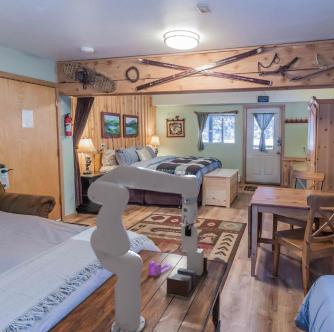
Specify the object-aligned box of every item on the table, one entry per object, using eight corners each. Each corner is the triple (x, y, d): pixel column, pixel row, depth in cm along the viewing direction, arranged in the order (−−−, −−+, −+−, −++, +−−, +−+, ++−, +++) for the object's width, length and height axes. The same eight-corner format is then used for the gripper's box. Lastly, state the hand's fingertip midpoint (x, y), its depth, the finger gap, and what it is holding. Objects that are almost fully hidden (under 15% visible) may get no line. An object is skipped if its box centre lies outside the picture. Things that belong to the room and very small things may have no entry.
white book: (196, 252, 136) (195, 227, 135) (181, 250, 138) (181, 225, 137) (197, 250, 138) (197, 226, 137) (183, 248, 140) (182, 224, 139)
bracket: (156, 278, 144) (156, 265, 143) (148, 275, 147) (148, 263, 146) (173, 267, 155) (173, 256, 154) (166, 265, 158) (166, 253, 157)
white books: (200, 275, 146) (200, 252, 144) (186, 273, 148) (186, 250, 146) (203, 271, 150) (203, 249, 149) (190, 269, 152) (190, 247, 151)
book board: (187, 299, 127) (188, 281, 126) (166, 295, 130) (166, 277, 128) (206, 272, 152) (207, 256, 151) (188, 269, 155) (188, 253, 153)
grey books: (187, 295, 129) (187, 280, 128) (170, 291, 131) (170, 277, 130) (195, 283, 138) (195, 270, 137) (179, 280, 140) (179, 267, 139)
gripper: (189, 204, 126) (189, 242, 129) (202, 196, 141) (201, 230, 144) (175, 203, 128) (175, 240, 131) (189, 195, 143) (188, 228, 146)
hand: (189, 234), depth 137 cm, fingers closed on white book, 2 cm apart
